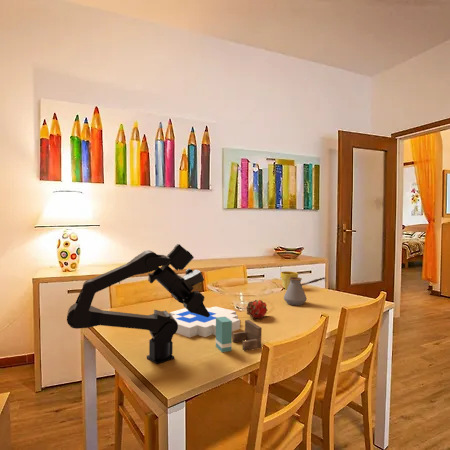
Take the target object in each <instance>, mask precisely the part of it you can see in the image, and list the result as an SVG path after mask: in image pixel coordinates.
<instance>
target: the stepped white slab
mask: <svg viewBox="0 0 450 450" xmlns="http://www.w3.org/2000/svg"><path fill="white" fill-rule="evenodd" d="M206 309H207V311H208V312H209V314H210V316H209V317H205V316H202V315H198V314H195V313H191V312H189V311H188V310H187V309H186V308H185V307H184V308H180V309H177V310H174V311H170V312H168V313H169V314H171V315H172V317H173V318H174V319H175V320H176V322H177V324H178V329H177V331H176V333H175V334H177V335H180V336H184V337H187V338H192V337H195V336H200V337H203V338H206V337H209V336H211V335H213V336H216V318H217V317H227V318H228V319H230V320H231V321H232V333H234V332H235V330H236V331H238V330H240V329H241V320H240V319H239V315H237V311H236V310H232V309H228V308H223V307H220V306H212V307H206Z"/></svg>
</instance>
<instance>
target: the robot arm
mask: <svg viewBox="0 0 450 450" xmlns="http://www.w3.org/2000/svg"><path fill="white" fill-rule="evenodd" d="M194 258H195V256H194V255H192V253H191V252H190V251H189V250H187V249H186V248H184V247H183V246H182V245H181V244H179V243H177V244H176V245H175V246H174V247H173V249H172V250H171V251H170V252H168V254H167V255H164V254H157V253H156V252H154V251H153V250H144V251H142V252H141V253H139V254H137V255H136V256H135V257H133V258H132V259H131V260H130V261H128V262H127V263H125V264H123V265H120V266H118V267H116V268H113V269H111V270H110V271H107V272H104V273H102V274H100V275H97V276H96V277H93V278H91V279H87V280H85V281H84V283H82V288H81V290H80V292H79V294H78V296H77V298H76V300H75V303H73V304H72V305H70V307H69V308H68V310H67V315H66V322H67V324H68V326H69V327H70V328H72V329H76V330H77V329H89V328H93V327H94V328H95V327H98V326H104V327H113V328H122V329H124V328H125V329H135V330H145V331H149V334H150V336H151V337H152V338H150V339H149V340H148V344H149V346H148V347H149V348H148V349H149V353H148V354H149V355H146V359H147V360H150V361H151V362H153V363H154V364H162V363H165V362H168V361H171V360H173V359H175V355H173V348H174V345H173V343H174V342H173V341H172V340H173V338H174V335H175V334H177V333H176V331H177V329H178V324H177V322H176V320H175V319H174V318H173V317H172V315H171V314H169V313H170V312H168V311H167V310H158V309H153V313H152V314H141V313H140V314H139V313H131V312H129V313H128V312H123V311H114V310H113V311H112V310H104V309H103V310H102V309H100V308H98V307H96V306H94V305H92V304H93V303H92V302H93V300H94V297H95V294H96V293H98V292H100V291H103V290H105V289H108V288H109V287H111V286H113V285H116V284H119V283H120V282H122V281H124V280H126V279H129V278H131V277H134V276H138V275H143V274H144V275H145V274H147V276H148V278H147V279H148V282H149V283H150V284H153V283H154V282H155V281H157V282H158V283H159V284H160V285H161V286H162V287H163V288H164V289H165V290H166V291H168V292H169V293H170V294H171V295H170V296H171V297H172V298H173V299H175V300H176V301H177V302H178V303H180V304H183V307H184V308H186V309H187V310H188V311H189V312H191V313H195V314H198V315H202V316H205V317H209V316H210V314H209V312H208V311H207V309H206V308H207V307H206V306H205V304H204V301H205V296H204V294H203V293H202V292H200V291H198V290H194V287H195V286H196V285H198V284H199V283H203V282H204V281H205V277H204V276H203V274H202V272H201V270H199V269H194V270H193V269H191V268H187V269H186V270H185V274H184V276H181V275H179V274H178V273H177V272H175V271H183V270H184V269H185V268H186V267H187V266H188V265H189V263H191V261H192V260H193V259H194ZM170 266H171V267H172V268H173V269H174V270H173V269H172V268H171V267H170Z"/></svg>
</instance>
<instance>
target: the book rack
mask: <svg viewBox="0 0 450 450" xmlns="http://www.w3.org/2000/svg"><path fill="white" fill-rule="evenodd" d="M245 340H246V341H245ZM240 342H242V351H243V350H244V352H247V351H246V350H248V351H253V350H252V349H254V350H258V349H257V348H260V349H262V327H261V326H260V325H258V324H256V323H254V322H253V321H252V320H250V319H245V320H244V331H238V332H232V343H240Z"/></svg>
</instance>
